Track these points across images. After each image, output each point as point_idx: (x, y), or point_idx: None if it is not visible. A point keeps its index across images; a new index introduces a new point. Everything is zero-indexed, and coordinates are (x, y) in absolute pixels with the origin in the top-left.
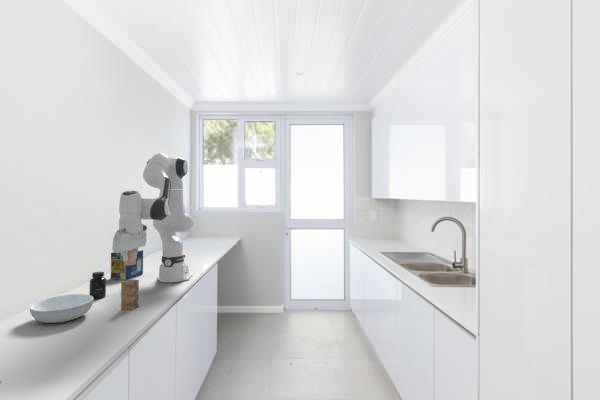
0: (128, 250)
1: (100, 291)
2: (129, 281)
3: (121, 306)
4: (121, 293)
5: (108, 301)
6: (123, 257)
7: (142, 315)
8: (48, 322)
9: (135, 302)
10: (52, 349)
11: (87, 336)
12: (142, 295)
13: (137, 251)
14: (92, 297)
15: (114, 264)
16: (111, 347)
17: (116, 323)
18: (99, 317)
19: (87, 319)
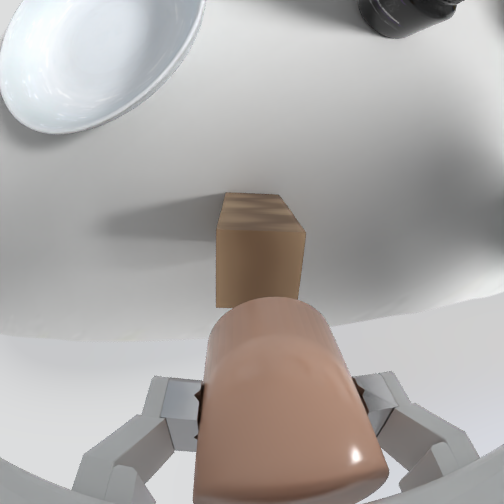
0: (327, 484)
1: (384, 18)
2: (243, 275)
3: (225, 196)
4: (221, 210)
5: (339, 74)
6: (144, 413)
7: (174, 306)
8: (43, 57)
9: None
10: None
11: (11, 236)
12: (423, 188)
13: (410, 461)
14: (147, 87)
15: None
16: (4, 320)
17: (91, 260)
18: (128, 160)
19: (104, 130)
